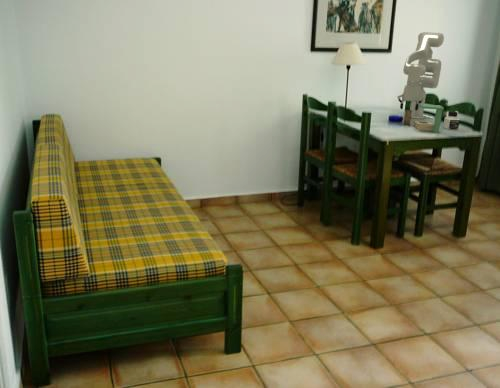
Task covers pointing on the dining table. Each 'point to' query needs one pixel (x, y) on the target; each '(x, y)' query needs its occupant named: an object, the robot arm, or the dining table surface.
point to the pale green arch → (437, 115)
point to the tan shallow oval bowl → (423, 125)
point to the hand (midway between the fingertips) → (408, 109)
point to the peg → (407, 117)
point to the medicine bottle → (451, 121)
